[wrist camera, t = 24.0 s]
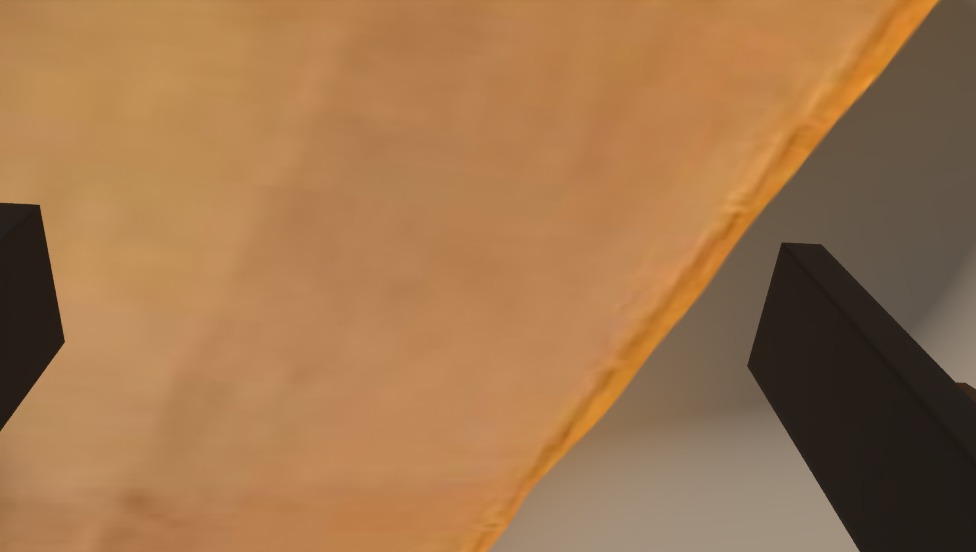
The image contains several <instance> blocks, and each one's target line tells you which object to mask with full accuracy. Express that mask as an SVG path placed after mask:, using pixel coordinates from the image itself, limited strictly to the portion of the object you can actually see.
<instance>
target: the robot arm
mask: <svg viewBox="0 0 976 552" xmlns="http://www.w3.org/2000/svg"><path fill="white" fill-rule="evenodd" d="M64 343H65V340H64V334H63V329H62V324H61V318H60V313H59V307H58V302H57V297H56V291H55V286H54V280H53V275H52V269H51V264H50V259H49V253H48V248H47V242H46V237H45V232H44V226H43V221H42V215H41V210H40V205H33V204H14V203H0V431H1V430H2V428H3V427H4V425H5V424H6V423H7V421H8V420H9V419H10V417H11V416H12V414H13V413H14V412H15V410H16V409H17V407H18V406H19V405H20V403H21V402H22V401H23V399H24V398H25V396H26V395H27V394H28V392H29V391H30V390H31V388H32V387H33V385H34V384H35V383H36V381H37V380H38V378H39V377H40V376H41V374H42V373H43V372H44V370H45V369H46V367H47V366H48V365H49V363H50V362H51V360H52V359H53V358H54V356H55V355H56V354H57V352H58V351H59V349H60V348H61V347H62V345H63V344H64ZM747 366H748V368H749V370H750V371H751V373H752V374H753V376H754V378H755V380H756V381H757V383H758V385H759V386H760V388H761V389H762V391H763V393H764V394H765V396H766V398H767V399H768V401H769V403H770V404H771V406H772V408H773V409H774V411H775V413H776V414H777V416H778V418H779V419H780V421H781V423H782V424H783V426H784V427H785V429H786V431H787V432H788V434H789V436H790V437H791V439H792V441H793V442H794V444H795V446H796V447H797V449H798V451H799V452H800V454H801V455H802V457H803V459H804V460H805V462H806V464H807V465H808V467H809V469H810V470H811V472H812V473H813V475H814V477H815V479H816V480H817V482H818V484H819V485H820V487H821V488H822V490H823V492H824V493H825V495H826V497H827V498H828V500H829V502H830V503H831V505H832V506H833V508H834V510H835V511H836V513H837V515H838V516H839V518H840V520H841V521H842V523H843V525H844V526H845V528H846V530H847V531H848V533H849V534H850V536H851V538H852V539H853V541H854V543H855V544H856V546H857V548H858V549H859V551H860V552H976V389H974V388H973V387H971V386H970V385H968V384H966V383H956V382H954V380H952V378H951V377H950V376H949V375H948V374H947V373H946V372H945V371H944V370H943V369H942V368H941V367H940V366H939V365H938V364H937V363H936V362H935V361H934V360H933V359H932V358H931V357H930V356H929V355H928V354H927V353H926V352H925V351H924V350H923V349H922V348H921V347H920V345H918V343H917V342H916V341H915V340H914V339H913V338H912V337H911V336H910V335H909V334H908V333H907V332H906V331H905V330H904V329H903V328H902V327H901V326H900V325H899V324H898V323H897V322H896V321H895V320H894V319H893V318H892V317H891V316H890V315H889V314H888V313H887V312H886V311H885V310H884V308H882V306H881V305H880V304H879V303H878V302H877V301H876V300H875V299H874V298H873V297H872V296H871V295H870V294H869V293H868V292H867V291H866V290H865V289H864V288H863V287H862V286H861V285H860V284H859V283H858V282H857V281H856V280H855V279H854V278H853V277H852V276H851V275H850V273H848V271H846V270H845V268H844V267H843V266H842V265H841V264H840V263H839V262H838V261H837V260H836V259H835V258H834V257H833V256H832V255H831V254H830V253H829V252H828V251H827V250H826V249H825V248H824V247H823V246H822V245H821V244H802V243H782V244H781V247H780V251H779V255H778V258H777V261H776V265H775V269H774V272H773V276H772V279H771V283H770V287H769V290H768V294H767V297H766V301H765V304H764V308H763V312H762V315H761V319H760V322H759V326H758V330H757V333H756V337H755V340H754V344H753V348H752V351H751V355H750V358H749V362H748V365H747Z"/></svg>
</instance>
